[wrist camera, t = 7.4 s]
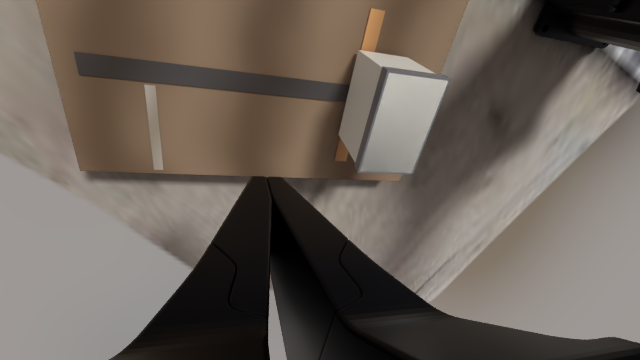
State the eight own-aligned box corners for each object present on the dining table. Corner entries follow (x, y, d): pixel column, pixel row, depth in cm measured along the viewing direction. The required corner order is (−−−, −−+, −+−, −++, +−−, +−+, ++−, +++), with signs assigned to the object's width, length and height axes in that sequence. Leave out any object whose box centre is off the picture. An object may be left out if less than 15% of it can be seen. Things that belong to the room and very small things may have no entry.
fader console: (450, -9, 19) (471, -5, 17) (389, 166, 25) (400, 181, 23) (34, -105, 13) (4, -115, 11) (93, 153, 19) (79, 171, 18)
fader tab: (409, 55, 18) (451, 79, 14) (383, 139, 21) (412, 174, 17) (357, 47, 17) (387, 69, 14) (336, 135, 20) (357, 172, 16)
